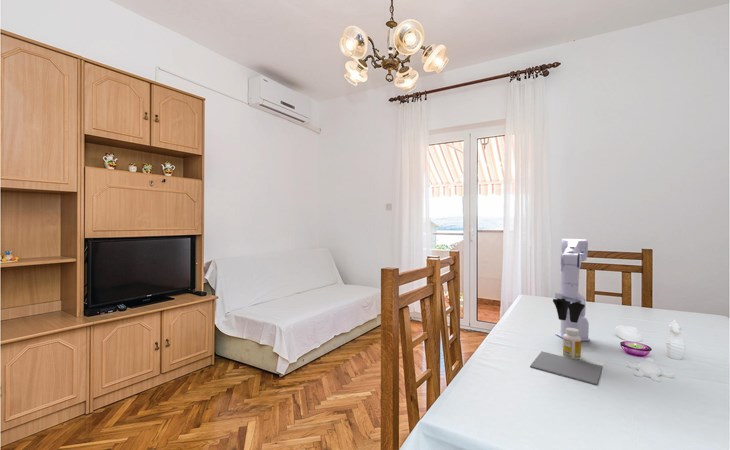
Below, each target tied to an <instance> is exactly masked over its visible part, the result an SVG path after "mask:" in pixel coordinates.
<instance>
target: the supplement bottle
mask: <svg viewBox="0 0 730 450" xmlns="http://www.w3.org/2000/svg"><path fill="white" fill-rule="evenodd" d="M578 335H579V330H578V329H575V328H566V334H564V335H563V338H562V340H563V341H562V355H563V356H564V357H568V358H572V359H576V360H580V359H581V358H582V357H581V356H582V341H581V337H580V336H578Z"/></svg>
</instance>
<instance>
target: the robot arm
mask: <svg viewBox="0 0 730 450" xmlns="http://www.w3.org/2000/svg"><path fill="white" fill-rule="evenodd" d="M588 253H589V241H588V239H582V238H581V239H579V238H575V239H574V238H562V239H561V254H560V261H559V262H560V272H561V273H560V277H561V278H560V292H559V293H558V292H556V293H554V298H552V302H553V304H554V306H555V308H556V309H555V310H556V313H557V317H558V320H560V329H559V330H560V332H555V335H556V336H558V337H560V338H562V339H563V335H564V334H566V328H575V329H578V330H579V335H578V336H580V337H581V342H582V341H590V338H589V324H590V323H589V321H588V319H587V317H586V306H587V304H586V298H585V297H584V296H583V295H582V294H580V293H579V283H580V269H581V265H582V262H585V261H587V258H588Z"/></svg>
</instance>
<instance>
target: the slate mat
mask: <svg viewBox="0 0 730 450" xmlns="http://www.w3.org/2000/svg"><path fill="white" fill-rule="evenodd" d="M529 368H532V369H536V370H540V371H543V372H547V373H549V374H550V373H551V374H555V375H558V376H563V377H564V378H565V377H566V378H569V379H573V380H577V381H581V382H583V383H586V384H587V383H588V384H592V385H595V386H597V385H598V383H599V379H600V375H601V371H602V369H603V365H600V364H596V363H593V362H588V361H583V360H580V359H572V358H568V357H565V356H564V355H563V356H562V355H559V354H556V353H550V352H547V351H544V350H543V351H540V352H539V354H538V355H537V356H536V358H535V359H534V360H533V361H532V363H531V364H530V365H529Z"/></svg>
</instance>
